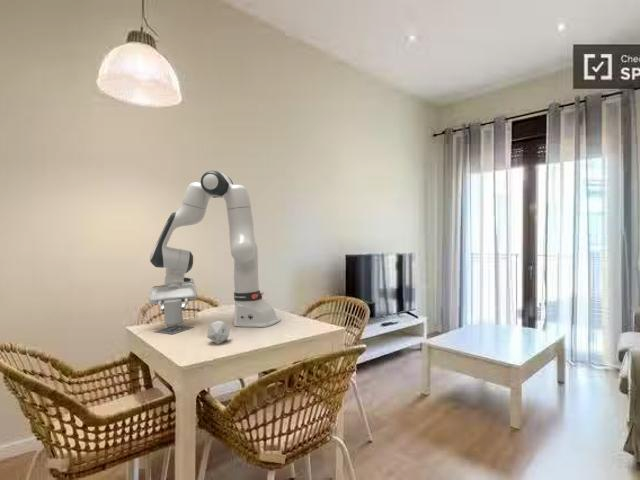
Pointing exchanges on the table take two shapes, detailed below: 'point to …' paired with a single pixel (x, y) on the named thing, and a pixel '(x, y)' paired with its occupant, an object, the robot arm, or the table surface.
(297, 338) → the table surface
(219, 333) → the die
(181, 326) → the mat
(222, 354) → the table surface
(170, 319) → the can
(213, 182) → the robot arm
